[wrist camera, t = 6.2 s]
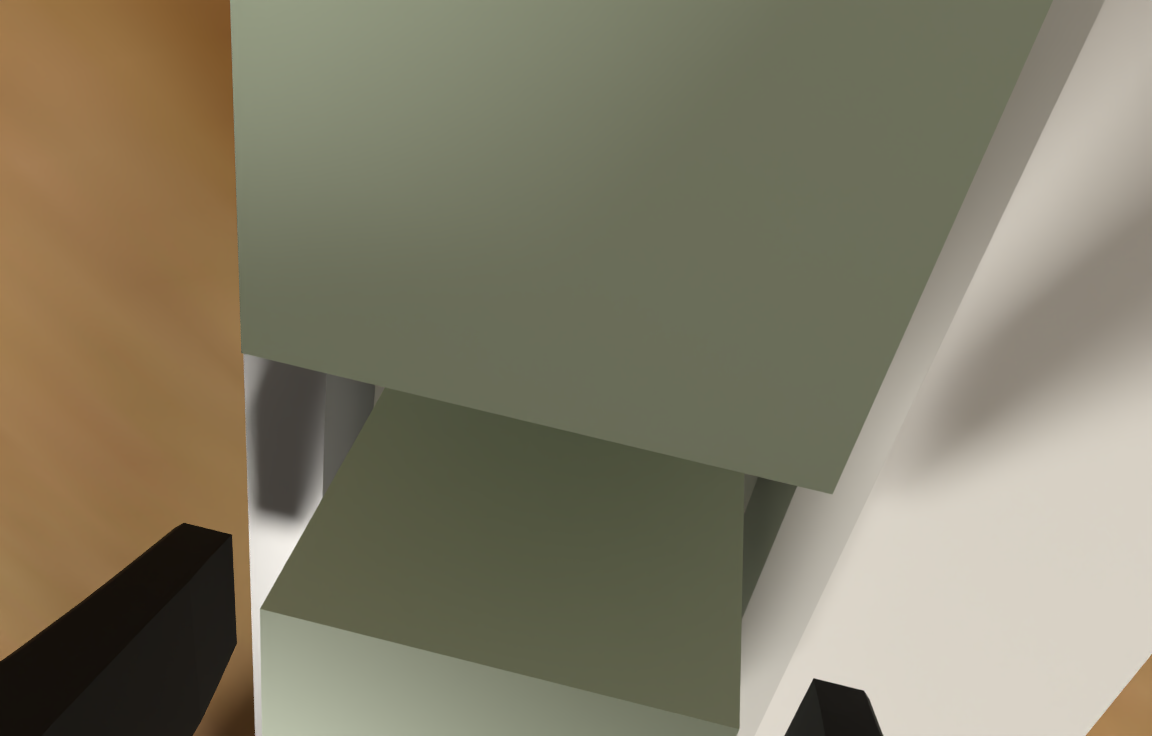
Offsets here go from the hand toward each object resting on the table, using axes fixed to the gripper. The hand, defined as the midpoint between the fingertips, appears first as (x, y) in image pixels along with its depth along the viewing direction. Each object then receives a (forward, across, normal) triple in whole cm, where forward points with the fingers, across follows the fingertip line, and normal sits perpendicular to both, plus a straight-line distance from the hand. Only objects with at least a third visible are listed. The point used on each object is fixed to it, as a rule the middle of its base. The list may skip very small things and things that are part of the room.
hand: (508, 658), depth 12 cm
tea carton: (+3, 0, 0) cm, 3 cm away
